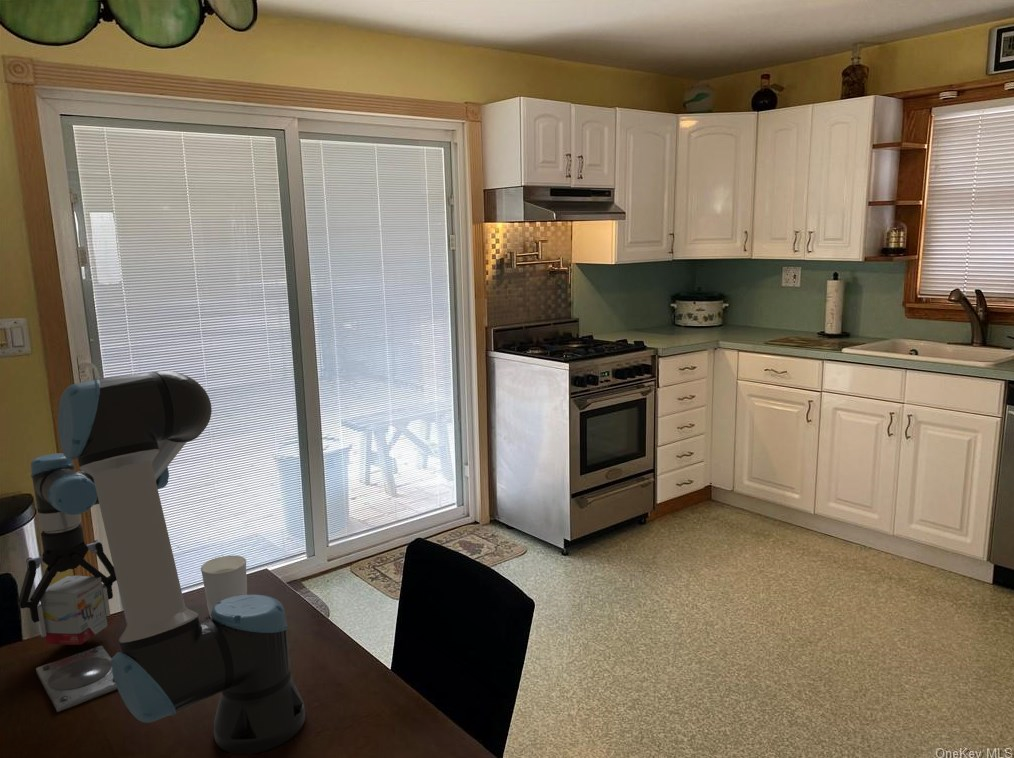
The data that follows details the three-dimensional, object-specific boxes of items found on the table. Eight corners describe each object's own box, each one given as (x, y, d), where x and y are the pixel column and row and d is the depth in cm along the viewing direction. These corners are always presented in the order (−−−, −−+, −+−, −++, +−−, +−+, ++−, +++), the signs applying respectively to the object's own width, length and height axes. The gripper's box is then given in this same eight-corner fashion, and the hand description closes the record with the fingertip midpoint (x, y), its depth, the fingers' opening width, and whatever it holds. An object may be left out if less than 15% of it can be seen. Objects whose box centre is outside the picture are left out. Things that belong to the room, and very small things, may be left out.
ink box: (81, 645, 153) (72, 592, 151) (44, 644, 155) (36, 591, 153) (109, 625, 162) (102, 574, 160) (75, 624, 163) (67, 573, 161)
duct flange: (127, 685, 143) (126, 678, 143) (57, 712, 135) (56, 704, 135) (102, 650, 156) (101, 644, 156) (36, 673, 148) (35, 666, 148)
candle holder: (242, 598, 178) (237, 551, 176) (257, 612, 170) (252, 564, 168) (200, 612, 172) (194, 563, 170) (214, 627, 164) (208, 577, 162)
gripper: (117, 508, 165) (130, 599, 169) (-10, 538, 149) (6, 638, 153) (127, 516, 160) (140, 609, 163) (-4, 548, 144) (13, 651, 147)
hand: (75, 623), depth 158 cm, fingers closed on ink box, 11 cm apart
